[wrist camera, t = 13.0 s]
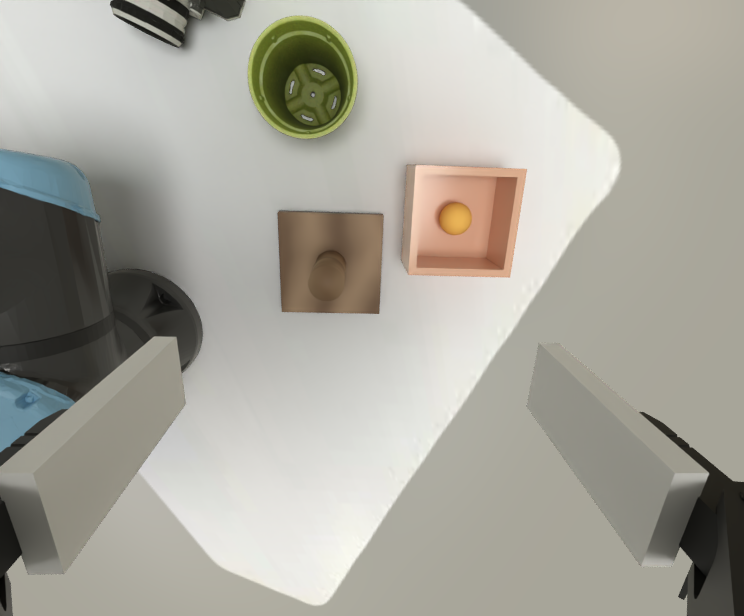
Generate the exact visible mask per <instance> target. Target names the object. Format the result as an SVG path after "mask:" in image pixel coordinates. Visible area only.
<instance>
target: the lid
mask: <svg viewBox="0 0 744 616" xmlns="http://www.w3.org/2000/svg"><path fill="white" fill-rule="evenodd" d="M278 233H279V256H280V279H281V303H282V312H317V313H368V314H379V305H380V283H381V260H382V238H383V215H381V214H350V213H319V212H288V211H279V212H278Z"/></svg>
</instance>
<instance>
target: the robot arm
mask: <svg viewBox="0 0 744 616" xmlns="http://www.w3.org/2000/svg"><path fill="white" fill-rule="evenodd" d="M99 222H101V221H100V217H99V215H98V214H96V211H95V206H94V202H93V198H92V193H91V189H90V185H89V182H88V179H87V177H86V176H85V174H84V173H83V172H82V171H81V170H80V169H79V168H77V167H76V166H75V165H73V164H71V163H69V162H66V161H63V160H60V159H55V158H51V157H46V156H41V155H35V154H29V153H24V152H18V151H12V150H5V149H0V616H13V613H12V598H11V583H10V581H9V578H8V575H7V573H6V572H7V570H8V569H9V568H10V567H11V566H12V564H13V563H14V562H15V561H16V560H17V558H19V556H20V555H21V556H22V559H23V562H24V564H25V567H26V570H27V573H28V574H31V575H34V574H65V573H66V571H67V570H68V568H69V567H70V566H71V564H72V563H73V561H74V560H75V559H76V557H77V556H78V554H79V553H80V551H81V550H82V549H83V547H84V546H85V544H86V543H87V542H88V540H89V539H90V537H91V536H92V535H93V533H94V532H95V530H96V529H97V528H98V526H99V525H100V524H101V522H102V521H103V519H104V518H105V516H106V515H107V514H108V512H109V511H110V510H111V508H112V507H113V505H114V504H115V502H116V501H117V500H118V498H119V497H120V495H121V494H122V493H123V491H124V490H125V488H126V487H127V486H128V484H129V483H130V481H131V480H132V478H133V477H134V476H135V474H136V473H137V472H138V470H139V469H140V467H141V466H142V465H143V463H144V462H145V460H146V459H147V458H148V456H149V455H150V453H151V452H152V451H153V449H154V448H155V446H156V445H157V444H158V442H159V441H160V439H161V438H162V437H163V435H164V434H165V432H166V431H167V430H168V428H169V427H170V425H171V424H172V423H173V421H174V420H175V418H176V417H177V416H178V414H179V413H180V411H181V410H182V409H183V407H184V406H185V404H186V401H185V394H184V387H183V380H182V373H183V372H184V371H185V370H186V369H187V368H188V367H189V365H190V364H191V363H192V362H193V361H194V359H195V358H196V356H197V354H198V352H199V350H200V347H201V343H202V336H203V332H202V324H201V320H200V316H199V314H198V311H197V309H196V307H195V306H194V304H193V303H192V301H191V300H190V298H189V297H188V296H187V295H186V294H185V293H184V292H183V291H182V290H181V289H180V288H179V287H178V286H177V285H175V284H174V283H173V282H171V281H169V280H168V279H166V278H164V277H162V276H160V275H158V274H155V273H152V272H149V271H144V270H138V269H121V270H116V271H112V272H109V273H107V269H106V263H105V257H104V252H103V246H102V241H101V235H100V229H99V224H98V223H99ZM527 408H528V409H529V411H530V412H531V414H532V415H533V416H534V418H535V419H536V421H537V422H538V423H539V425H540V426H541V428H542V429H543V430H544V432H545V433H546V435H547V436H548V437H549V439H550V440H551V442H552V443H553V444H554V446H555V447H556V449H557V450H558V451H559V452H560V454H561V455H562V457H563V458H564V460H565V461H566V463H567V464H568V465H569V467H570V468H571V469H572V471H573V472H574V474H575V475H576V477H577V478H578V479H579V481H580V482H581V484H582V485H583V486H584V488H585V489H586V491H587V492H588V493H589V495H590V496H591V498H592V499H593V500H594V502H595V503H596V505H597V506H598V507H599V509H600V510H601V512H602V513H603V514H604V516H605V517H606V518H607V520H608V521H609V523H610V524H611V526H612V527H613V528H614V530H615V531H616V533H617V534H618V535H619V537H620V538H621V540H622V541H623V542H624V544H625V545H626V547H627V548H628V549H629V551H630V552H631V554H632V555H633V556H634V558H635V559H636V561H637V562H638V563H639V565H640V566H641V567H665V566H666V567H670V566H672V565H673V563H674V560H675V557H676V555H677V553H678V550H679V548H680V547H681V548H682V549H683V551H684V552H685V553H686V554H687V555H688V556H689V557H690V559H691V560H692V561H693V563H692V565H691V567H690V570H689V572H688V575H687V577H686V579H685V582H684V584H683V586H682V589H681V591H680V594H679V596H678V597H679V598H681V599H683V600H684V599H685V597H686V595H687V616H744V482H735V481H732V480H731V479H730V478H728V477H727V476H726V475H725V474H724V473H722V472H721V471H720V470H719V469H718V468H716V467H715V466H714V465H713V464H711V463H710V462H709V461H708V460H707V459H706V458H704V457H703V456H702V455H701V454H700V453H698V452H697V451H696V450H695V449H693V448H690V447H689V444H688V443H686V442H685V441H684V440H682V439H681V438H680V437H677V434H676V433H674V432H673V431H672V430H671V429H670V428H668V427H667V426H666V425H665V424H663V423H662V422H660V421H658V420H657V419H655V418H653V417H651V416H649V415H648V414H646V413H644V412H638V411H637V410H636V409H635V408H633V407H632V406H631V405H630V404H629V403H628V402H627V401H625V400H624V399H623V398H622V397H621V396H619V395H618V394H617V393H616V392H615V391H614V390H612V389H611V388H610V387H609V386H608V385H607V384H606V383H605V382H603V381H602V380H601V379H600V378H599V377H598V376H596V375H595V374H594V373H593V372H592V371H590V369H588V368H587V367H586V366H585V365H584V364H583V363H581V362H580V361H579V360H578V359H577V358H576V357H574V356H573V355H572V354H571V353H570V352H569V351H568V350H566V349H565V348H564V347H563V346H562V345H561V344H560V343H539V345H538V350H537V355H536V360H535V366H534V371H533V376H532V381H531V386H530V391H529V397H528V402H527Z"/></svg>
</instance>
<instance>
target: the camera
mask: <svg viewBox="0 0 744 616" xmlns="http://www.w3.org/2000/svg"><path fill="white" fill-rule="evenodd" d="M244 2H245V0H113V1H111V2H110V6H111V7H112V11H113V15H115V16H116V17H118V18H119V19H121V20H123V21H124V22H126V23H128V24H130V25H132V26H134V27H135V28H137V29H139V30H141V31H143V32H145V33H147V34H149V35H151V36H153V37H155V38H157V39H159V40H161V41H163V42H166V43H168V44H170V45H172V46H175V47H180V45H181V44H182V43H184V33H185V30H184V27H185V26H186V25H187V21H188V16H189V15H191V16H193V17H195V18H197V19H199V20H201V18H202V16H203V13H204V10H207V11H209V12H211V13H213V14H215V15H217V16H219V17H221V18H223V19H225V20H227V21H230V20H234V19H238V18H240V17H241V13H242V10H243V6H244Z"/></svg>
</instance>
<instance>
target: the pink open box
mask: <svg viewBox="0 0 744 616" xmlns="http://www.w3.org/2000/svg"><path fill="white" fill-rule="evenodd" d="M526 172H527V169H511V168H485V167H459V166H433V165H407V171H406V188H405V204H404V220H403V236H402V253H401V261H402V263H403V265H404V267H405V269H406V271H407V273H408V275H432V276H472V277H510V274H511V267H512V261H513V255H514V248H515V242H516V236H517V229H518V223H519V216H520V210H521V204H522V197H523V191H524V185H525V178H526ZM454 202H458V203H462V204H464V205H466V206H467V207H468V208H469V209H470V211H471V214H472V222H471V225H470V227H469V228H468V230H467V231H465V232H464V233H462V234H460V235H450V234H448V233H446V232H445V231H444V230H443V229H442V228H441V226H440V222H439V217H440V213H441V211H442V210H443V208H444V207H445V206H447V205H448V204H450V203H454Z"/></svg>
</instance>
